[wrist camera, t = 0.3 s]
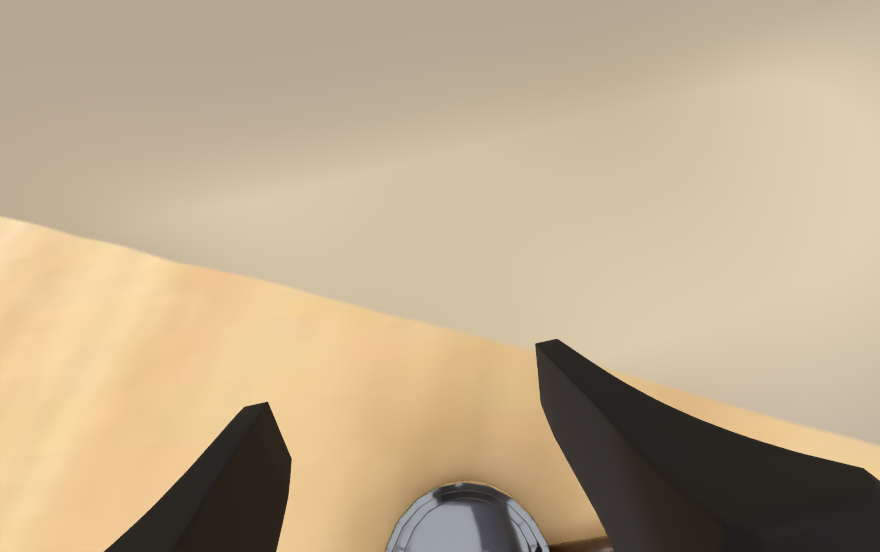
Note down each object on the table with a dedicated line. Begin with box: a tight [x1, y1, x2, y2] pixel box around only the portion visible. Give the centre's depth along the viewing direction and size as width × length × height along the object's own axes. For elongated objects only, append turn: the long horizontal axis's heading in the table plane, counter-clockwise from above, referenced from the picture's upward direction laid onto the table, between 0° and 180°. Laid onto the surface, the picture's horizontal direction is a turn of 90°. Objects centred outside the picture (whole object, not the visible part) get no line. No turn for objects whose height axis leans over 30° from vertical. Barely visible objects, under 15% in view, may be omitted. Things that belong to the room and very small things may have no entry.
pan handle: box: [538, 536, 614, 552], centre depth 34 cm, size 10×2×3 cm, turn 101°
